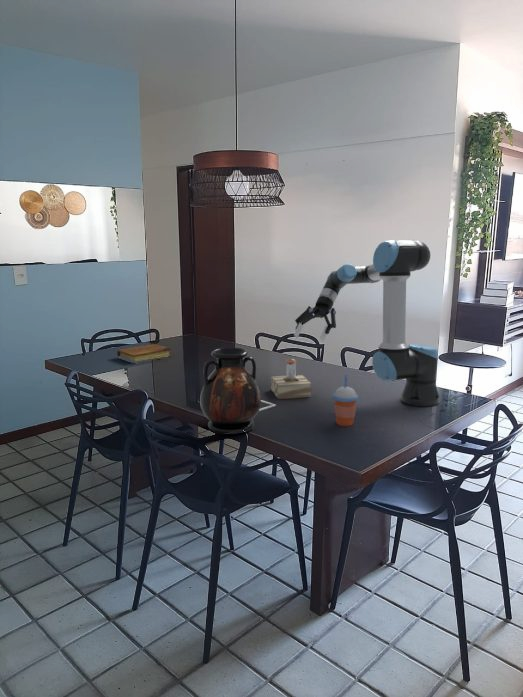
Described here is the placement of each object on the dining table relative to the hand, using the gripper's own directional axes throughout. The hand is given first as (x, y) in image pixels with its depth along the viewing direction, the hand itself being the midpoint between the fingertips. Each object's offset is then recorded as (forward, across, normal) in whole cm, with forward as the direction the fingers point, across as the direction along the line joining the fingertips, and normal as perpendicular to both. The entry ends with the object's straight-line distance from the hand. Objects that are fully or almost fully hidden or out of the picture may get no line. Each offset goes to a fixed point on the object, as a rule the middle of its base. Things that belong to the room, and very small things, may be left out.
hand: (308, 337), depth 239 cm
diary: (+18, +105, -12) cm, 107 cm away
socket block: (+25, +1, -7) cm, 26 cm away
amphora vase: (+59, -6, +26) cm, 65 cm away
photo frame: (+42, +6, +9) cm, 44 cm away
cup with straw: (+40, -36, +7) cm, 54 cm away
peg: (+24, +1, -6) cm, 25 cm away
